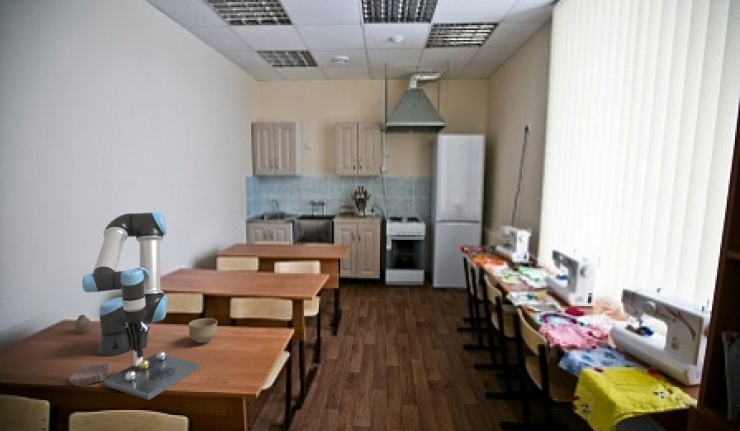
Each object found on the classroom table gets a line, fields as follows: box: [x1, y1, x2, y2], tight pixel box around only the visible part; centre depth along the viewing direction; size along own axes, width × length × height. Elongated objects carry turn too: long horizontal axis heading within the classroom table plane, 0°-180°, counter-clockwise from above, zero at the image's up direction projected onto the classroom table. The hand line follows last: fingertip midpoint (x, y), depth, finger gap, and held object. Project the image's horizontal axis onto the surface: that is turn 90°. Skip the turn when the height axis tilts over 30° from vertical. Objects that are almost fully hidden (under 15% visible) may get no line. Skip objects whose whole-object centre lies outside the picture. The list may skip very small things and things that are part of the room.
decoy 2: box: [125, 371, 136, 381], centre depth 135 cm, size 4×4×4 cm
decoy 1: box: [156, 351, 167, 360], centre depth 150 cm, size 4×4×4 cm
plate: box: [103, 352, 199, 401], centre depth 141 cm, size 24×22×2 cm
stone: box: [68, 362, 112, 386], centre depth 140 cm, size 9×12×5 cm
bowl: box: [188, 317, 218, 344], centre depth 172 cm, size 13×13×10 cm
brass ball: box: [139, 359, 149, 369], centre depth 143 cm, size 4×4×4 cm
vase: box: [73, 314, 92, 335], centre depth 182 cm, size 7×7×9 cm
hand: (138, 364), depth 143 cm, fingers closed
